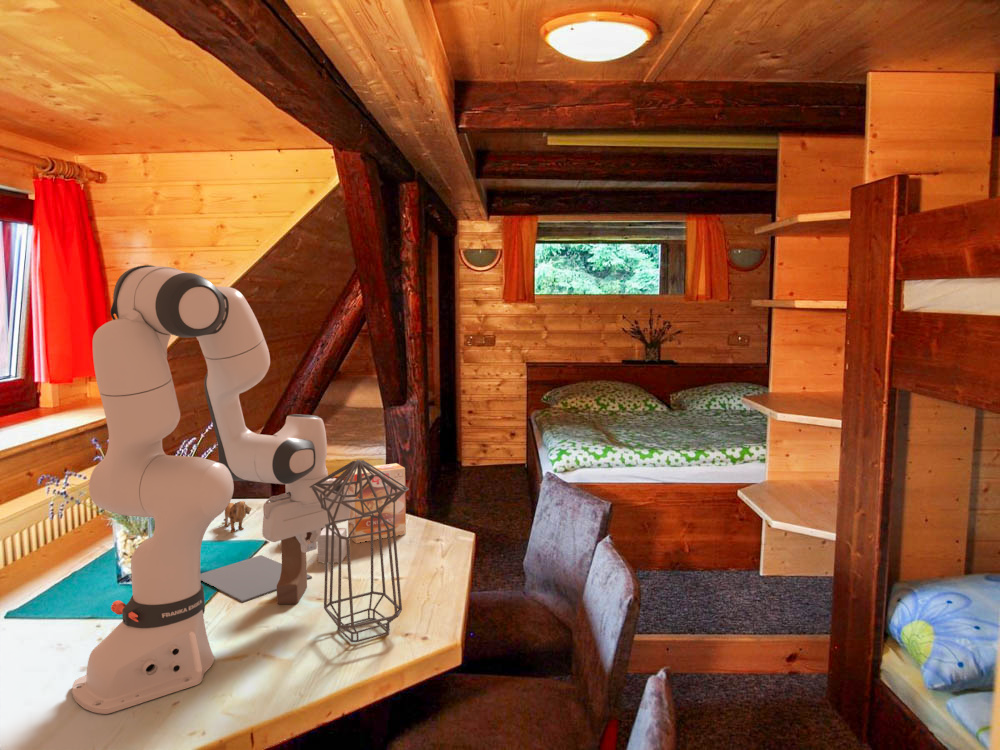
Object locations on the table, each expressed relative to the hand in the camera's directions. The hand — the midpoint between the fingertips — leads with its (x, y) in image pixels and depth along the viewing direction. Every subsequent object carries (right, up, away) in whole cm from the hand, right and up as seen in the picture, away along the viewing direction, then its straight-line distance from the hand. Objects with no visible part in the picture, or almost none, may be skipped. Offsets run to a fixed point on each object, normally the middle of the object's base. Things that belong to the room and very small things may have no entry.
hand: (308, 550), depth 153 cm
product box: (-2, -9, +29) cm, 30 cm away
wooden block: (-5, -12, +6) cm, 14 cm away
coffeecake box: (+7, -8, +46) cm, 47 cm away
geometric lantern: (+14, -14, -11) cm, 22 cm away
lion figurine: (-36, -7, +53) cm, 65 cm away
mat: (-18, -11, +16) cm, 26 cm away
